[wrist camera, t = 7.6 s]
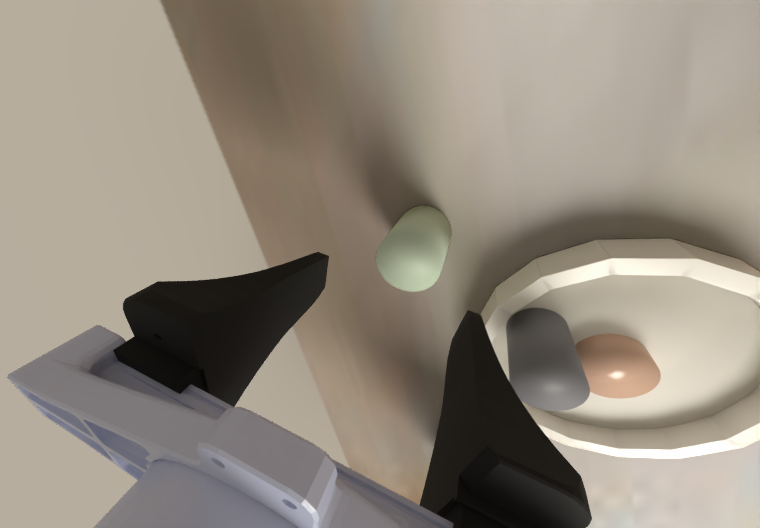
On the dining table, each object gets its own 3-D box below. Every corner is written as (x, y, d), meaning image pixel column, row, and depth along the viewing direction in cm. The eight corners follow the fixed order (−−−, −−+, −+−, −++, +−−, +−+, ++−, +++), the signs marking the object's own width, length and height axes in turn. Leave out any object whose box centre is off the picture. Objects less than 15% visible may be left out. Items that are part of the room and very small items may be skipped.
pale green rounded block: (440, 263, 21) (429, 300, 17) (392, 245, 22) (370, 277, 18) (460, 216, 19) (451, 246, 15) (405, 198, 20) (383, 222, 15)
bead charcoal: (549, 358, 21) (563, 419, 17) (496, 337, 21) (498, 391, 17) (581, 321, 18) (607, 383, 14) (522, 299, 19) (530, 351, 15)
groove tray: (643, 453, 23) (658, 486, 21) (448, 368, 26) (445, 391, 24) (897, 307, 14) (968, 342, 12) (545, 201, 17) (553, 214, 15)
